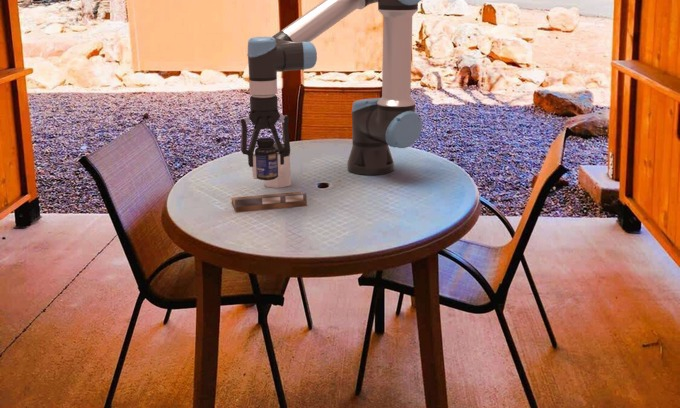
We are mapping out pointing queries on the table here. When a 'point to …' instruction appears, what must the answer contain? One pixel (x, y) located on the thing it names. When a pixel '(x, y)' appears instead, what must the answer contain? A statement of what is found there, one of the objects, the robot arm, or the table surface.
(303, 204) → the wooden compartment tray
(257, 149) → the pill bottle
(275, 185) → the jar
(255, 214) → the table surface
